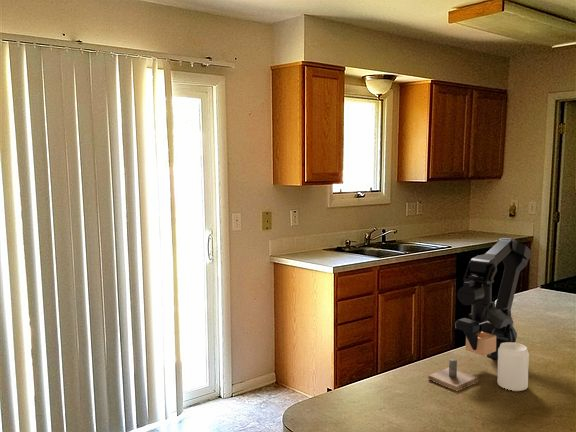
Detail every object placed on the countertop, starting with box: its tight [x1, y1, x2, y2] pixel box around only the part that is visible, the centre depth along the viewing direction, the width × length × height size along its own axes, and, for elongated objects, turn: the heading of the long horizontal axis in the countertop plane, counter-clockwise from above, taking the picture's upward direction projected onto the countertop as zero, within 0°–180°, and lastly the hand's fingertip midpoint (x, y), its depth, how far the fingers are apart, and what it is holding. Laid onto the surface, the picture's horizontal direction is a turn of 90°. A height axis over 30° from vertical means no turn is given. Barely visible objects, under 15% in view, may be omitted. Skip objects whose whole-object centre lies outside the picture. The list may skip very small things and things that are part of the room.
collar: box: [465, 332, 496, 357], centre depth 161 cm, size 6×6×5 cm
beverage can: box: [497, 342, 530, 392], centre depth 149 cm, size 8×8×12 cm
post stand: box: [428, 358, 479, 391], centre depth 154 cm, size 10×10×6 cm
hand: (480, 347), depth 161 cm, fingers closed on collar, 6 cm apart
